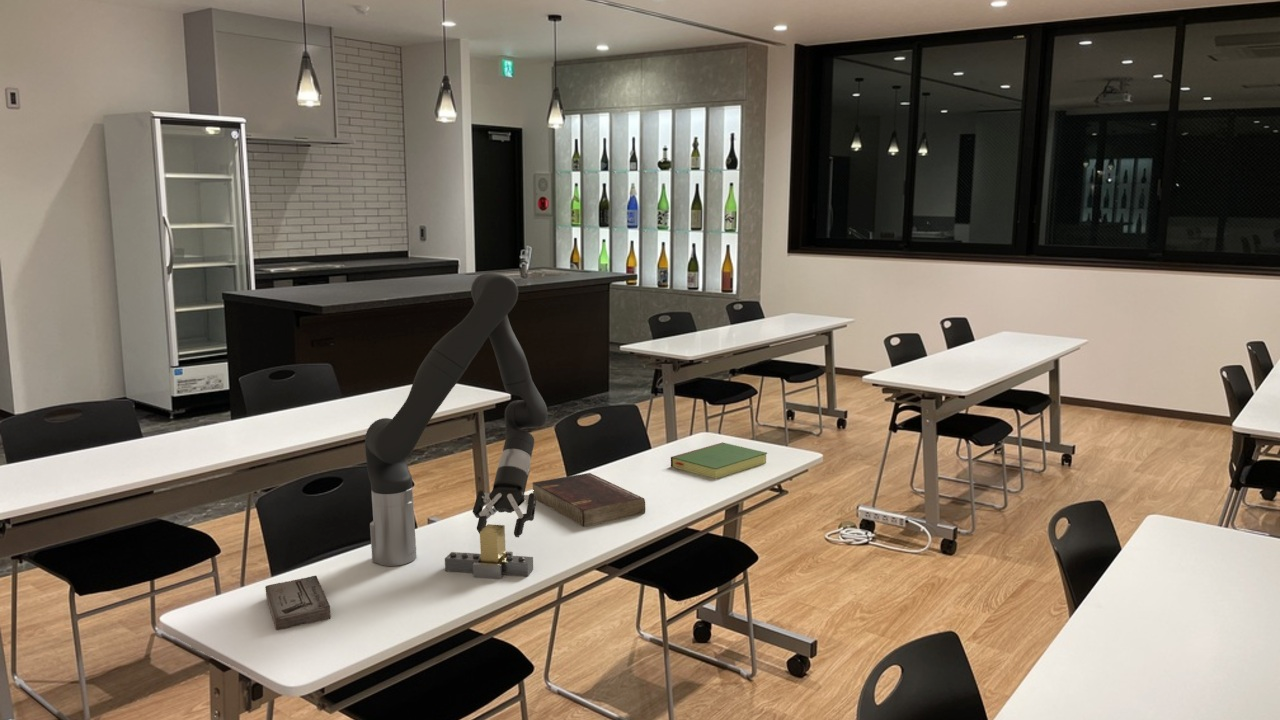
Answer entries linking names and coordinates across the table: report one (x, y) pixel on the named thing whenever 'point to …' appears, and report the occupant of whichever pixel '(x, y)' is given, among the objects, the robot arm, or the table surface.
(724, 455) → the hardcover book
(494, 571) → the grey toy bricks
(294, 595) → the box
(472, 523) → the table surface
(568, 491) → the hardback book
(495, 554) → the brass rectangular block
